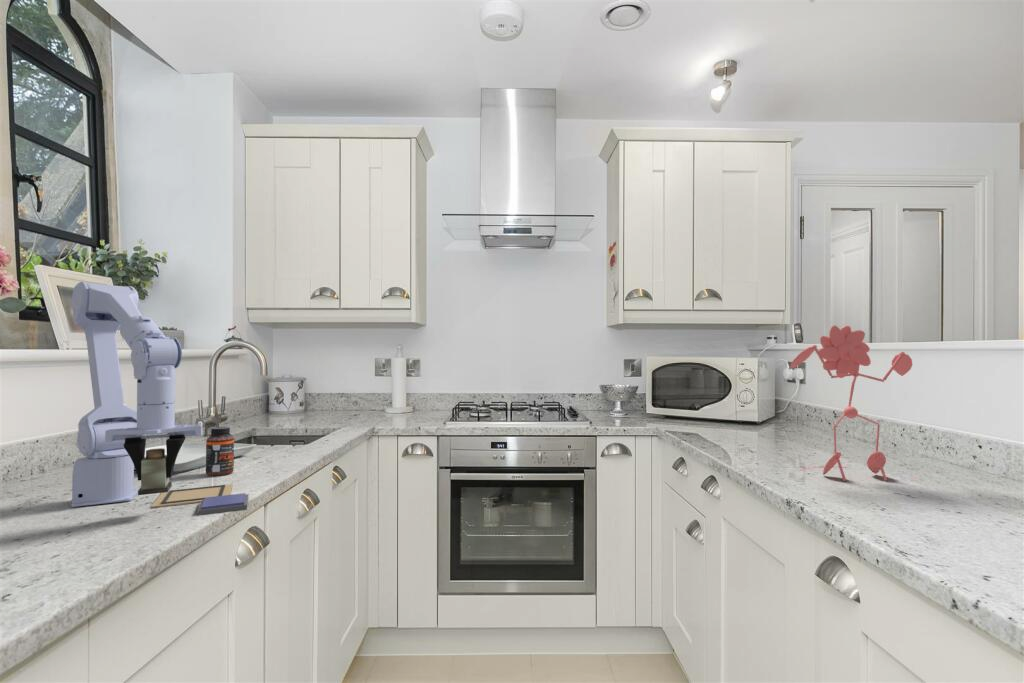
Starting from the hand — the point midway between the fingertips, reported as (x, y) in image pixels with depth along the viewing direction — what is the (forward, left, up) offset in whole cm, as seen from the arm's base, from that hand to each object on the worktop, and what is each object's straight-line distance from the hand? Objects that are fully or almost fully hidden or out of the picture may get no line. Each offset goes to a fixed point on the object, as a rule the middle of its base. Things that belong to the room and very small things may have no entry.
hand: (155, 477), depth 94 cm
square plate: (-3, +51, -7) cm, 52 cm away
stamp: (0, 0, -2) cm, 2 cm away
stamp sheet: (+5, +11, -7) cm, 14 cm away
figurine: (+141, -38, -7) cm, 146 cm away
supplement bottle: (+8, +31, -7) cm, 33 cm away
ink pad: (+11, 0, -7) cm, 13 cm away
